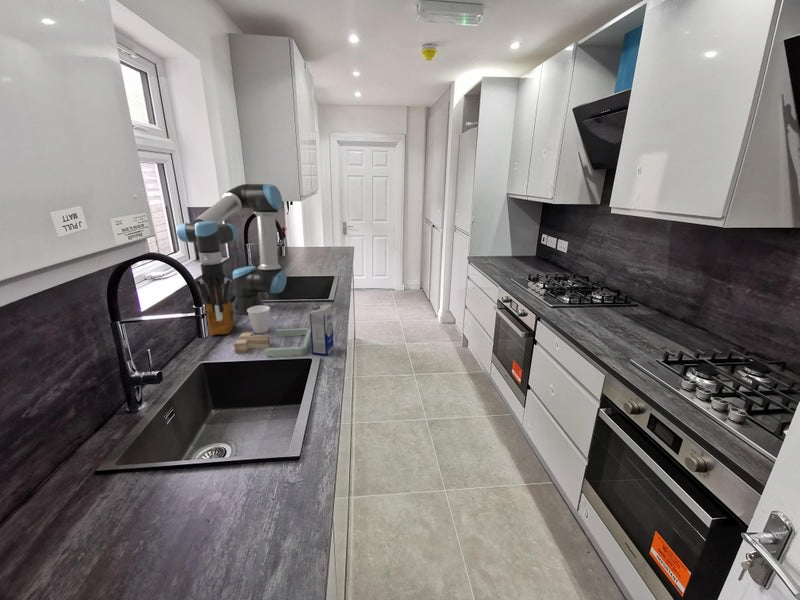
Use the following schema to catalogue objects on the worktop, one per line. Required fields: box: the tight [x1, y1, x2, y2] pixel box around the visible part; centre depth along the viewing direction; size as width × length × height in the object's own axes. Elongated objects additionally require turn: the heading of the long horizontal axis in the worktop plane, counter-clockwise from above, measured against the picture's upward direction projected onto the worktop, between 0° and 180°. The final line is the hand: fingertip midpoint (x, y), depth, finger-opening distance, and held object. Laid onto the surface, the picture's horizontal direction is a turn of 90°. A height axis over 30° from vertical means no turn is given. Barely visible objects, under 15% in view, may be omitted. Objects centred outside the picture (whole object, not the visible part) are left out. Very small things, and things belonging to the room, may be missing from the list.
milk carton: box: [308, 304, 335, 357], centre depth 143 cm, size 7×7×20 cm
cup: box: [247, 305, 271, 335], centre depth 164 cm, size 10×10×11 cm
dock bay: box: [265, 327, 311, 357], centre depth 152 cm, size 21×16×3 cm
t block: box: [233, 331, 271, 354], centre depth 150 cm, size 12×12×4 cm
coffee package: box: [205, 283, 235, 337], centre depth 161 cm, size 10×12×22 cm
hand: (219, 319), depth 145 cm, fingers closed
